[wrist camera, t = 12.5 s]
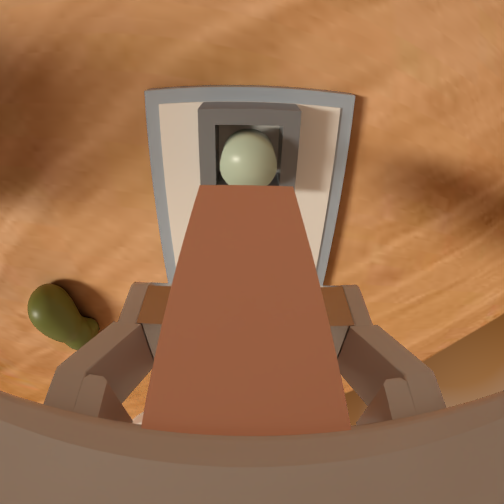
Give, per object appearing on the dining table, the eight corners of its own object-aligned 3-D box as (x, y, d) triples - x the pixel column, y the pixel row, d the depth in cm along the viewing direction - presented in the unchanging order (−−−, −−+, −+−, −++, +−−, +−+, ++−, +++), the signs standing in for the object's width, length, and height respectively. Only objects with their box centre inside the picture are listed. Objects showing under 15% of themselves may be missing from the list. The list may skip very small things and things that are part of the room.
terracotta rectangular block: (293, 186, 12) (369, 556, 3) (285, 260, 14) (319, 555, 5) (199, 184, 12) (124, 556, 3) (204, 259, 14) (171, 554, 5)
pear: (41, 311, 25) (105, 359, 32) (56, 268, 29) (112, 320, 35) (13, 319, 26) (73, 363, 33) (28, 281, 30) (81, 327, 37)
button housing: (296, 104, 19) (301, 111, 17) (289, 185, 23) (293, 201, 21) (203, 102, 19) (197, 109, 17) (205, 183, 23) (201, 199, 21)
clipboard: (351, 93, 20) (356, 96, 18) (309, 328, 34) (311, 338, 33) (148, 88, 19) (142, 91, 18) (179, 326, 34) (177, 336, 32)
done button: (275, 129, 19) (278, 140, 17) (272, 176, 20) (275, 192, 19) (222, 128, 18) (219, 139, 17) (223, 175, 20) (220, 191, 18)
